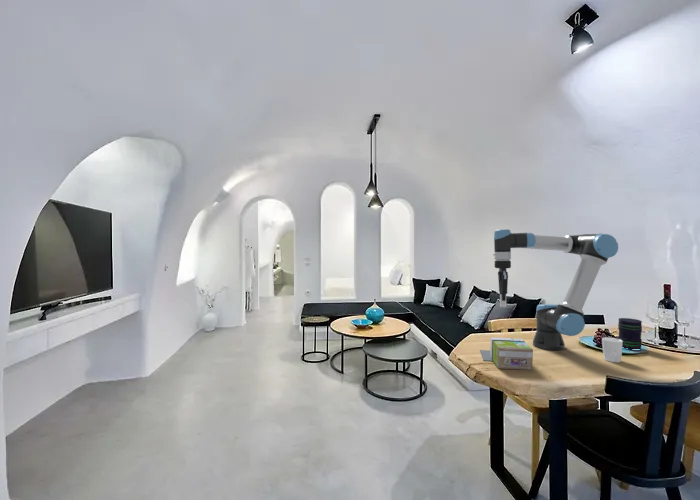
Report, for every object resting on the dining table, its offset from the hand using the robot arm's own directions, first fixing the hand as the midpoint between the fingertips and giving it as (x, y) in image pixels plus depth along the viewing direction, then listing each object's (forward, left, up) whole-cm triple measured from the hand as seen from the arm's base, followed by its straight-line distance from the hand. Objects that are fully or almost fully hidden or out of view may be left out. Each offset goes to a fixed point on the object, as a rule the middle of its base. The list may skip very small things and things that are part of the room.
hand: (503, 306), depth 174 cm
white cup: (-50, -5, -25) cm, 56 cm away
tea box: (0, +5, -19) cm, 20 cm away
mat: (0, +2, -25) cm, 25 cm away
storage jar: (-68, -29, -25) cm, 77 cm away
